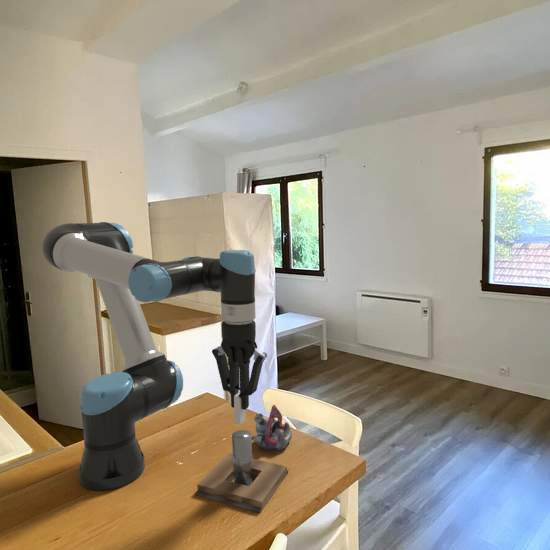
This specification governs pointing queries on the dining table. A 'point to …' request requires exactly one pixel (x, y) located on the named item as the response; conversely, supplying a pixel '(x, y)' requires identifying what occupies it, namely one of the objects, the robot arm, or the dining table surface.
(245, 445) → the steel cylinder rod
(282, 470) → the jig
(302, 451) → the dining table surface
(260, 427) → the red and grey figurine
